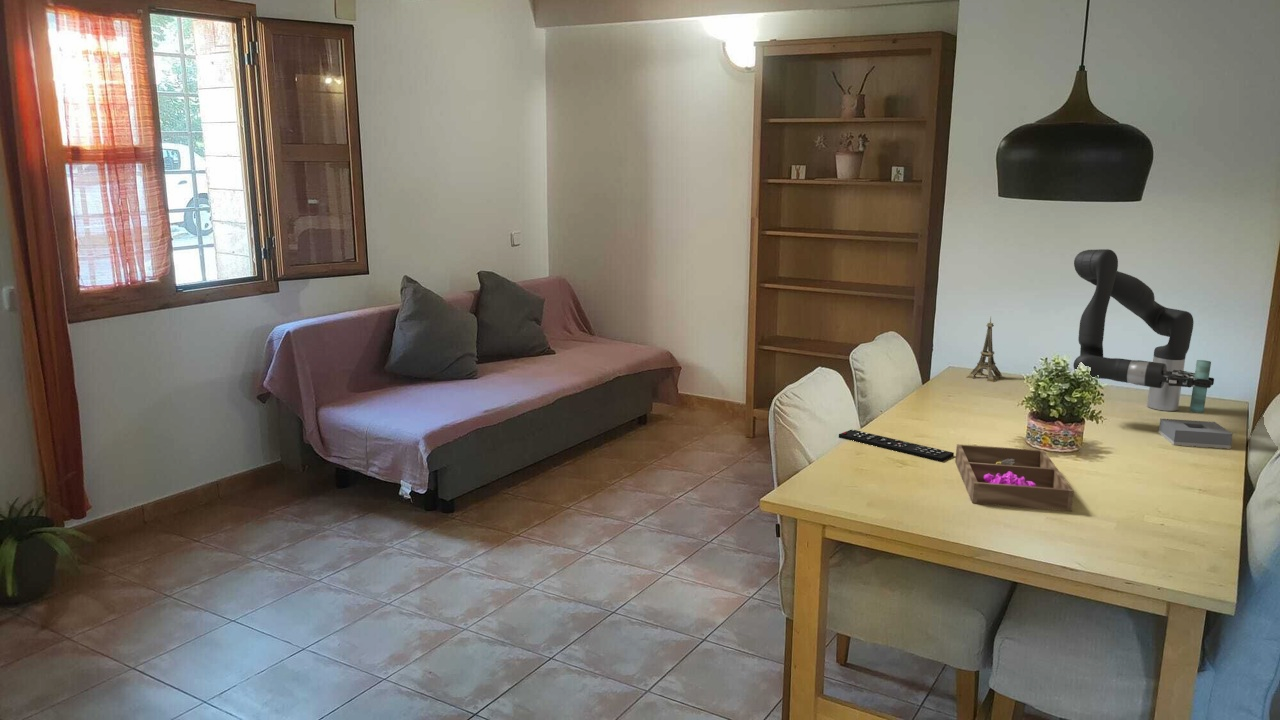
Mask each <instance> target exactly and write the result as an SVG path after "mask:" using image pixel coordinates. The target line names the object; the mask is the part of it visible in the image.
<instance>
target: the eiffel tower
mask: <svg viewBox="0 0 1280 720" xmlns="http://www.w3.org/2000/svg"><path fill="white" fill-rule="evenodd" d="M986 323H987V324H986V327H987V330H986V335H985V340H984V343H983V348H982V350H981V351H980V357H979V361H978V362H976V364H977V365H976V366H975V367H974V368H973V369H972V370H971V371H970V373H969V375H966V378H967V379H976V378H977V375H978V376H982V375H984V370H985V371H987V379H986V381H987V382H991V383H994V382H996V381H997V379H1004V378H1005V376H1003V375H1002V372H1001V371H1000V369H998V366H997V365H996V364H997V363H996V361H995V359H994V358H995V357H994V355H995V351H994V348H993V327H994V323H992V317H990V320H989V322H986ZM986 360H987V361H986Z"/></svg>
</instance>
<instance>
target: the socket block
mask: <svg viewBox="0 0 1280 720" xmlns="http://www.w3.org/2000/svg"><path fill="white" fill-rule="evenodd" d="M1159 433H1160V434H1159ZM1158 434H1159V435H1161V436H1162V437H1163V438H1164V439H1165V440H1166V441H1168V442H1169V443H1170V444H1171V443H1172V444H1171V445H1173V446H1178V445H1182V446H1181V447H1193V446H1196V447H1197V448H1208V447H1215V448H1214V449H1222V448H1227V449H1226V450H1231V446H1232V442H1233V433H1232V432H1231V431H1230V430H1227V429H1226V428H1225V427H1223V426H1221V424H1219V423H1217V422H1216V421H1209V420H1208V421H1205V420H1204V421H1203V420H1192V419H1191V420H1189V419H1174V418H1160V419H1159V426H1158Z"/></svg>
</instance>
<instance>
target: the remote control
mask: <svg viewBox="0 0 1280 720" xmlns="http://www.w3.org/2000/svg"><path fill="white" fill-rule="evenodd" d="M838 439H842V440H847V441H851V440H852V441H851V442H855V441H856V442H855V443H859V442H860V443H859V444H863V443H864V445H867V444H868V446H871V445H873V447H876V446H877V447H876V448H879V449H880V448H881V449H885V450H889V451H892V450H893V451H894V452H896V451H897V453H900V454H905V455H910V456H915V457H917V458H922V459H926V460H930V461H934V462H939V463H942V462H944V461H946V460H949V459H951V458H952V457H954V455H955V452H952V451H950V450H949V451H948V450H944V449H940V448H936V447H931V446H928V445H927V446H926V445H921V444H918V443H913V442H908V441H904V440H900V439H896V438H891V437H887V436H882V435H878V434H874V433H869V432H865V431H861V430H856V429H853V428H852V429H849V430H847V431H844V432H841V433H839V434H838ZM853 440H854V441H853Z"/></svg>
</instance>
